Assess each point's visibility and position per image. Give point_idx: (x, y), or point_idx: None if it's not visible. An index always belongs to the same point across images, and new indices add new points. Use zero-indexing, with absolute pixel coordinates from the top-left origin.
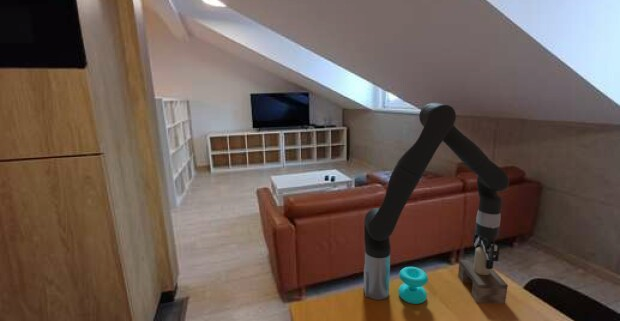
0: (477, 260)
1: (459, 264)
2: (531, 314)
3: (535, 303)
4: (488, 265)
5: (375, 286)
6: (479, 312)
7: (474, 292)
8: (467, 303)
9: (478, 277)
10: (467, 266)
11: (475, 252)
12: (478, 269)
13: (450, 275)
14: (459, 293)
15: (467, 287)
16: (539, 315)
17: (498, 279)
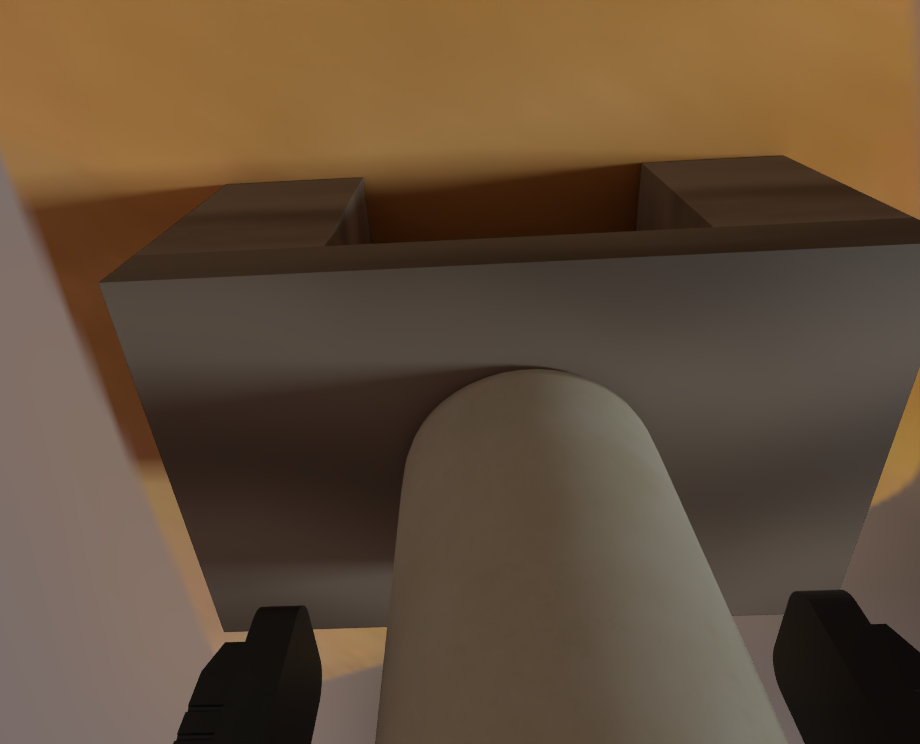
0: (484, 577)
1: (886, 212)
2: (190, 572)
3: (339, 643)
4: (212, 707)
5: None
6: (48, 150)
7: (270, 206)
8: (183, 59)
9: (336, 363)
10: (694, 307)
11: (683, 735)
12: (443, 449)
13: (822, 41)
14: (385, 22)
15: (527, 191)
16: (195, 610)
17: (335, 589)
